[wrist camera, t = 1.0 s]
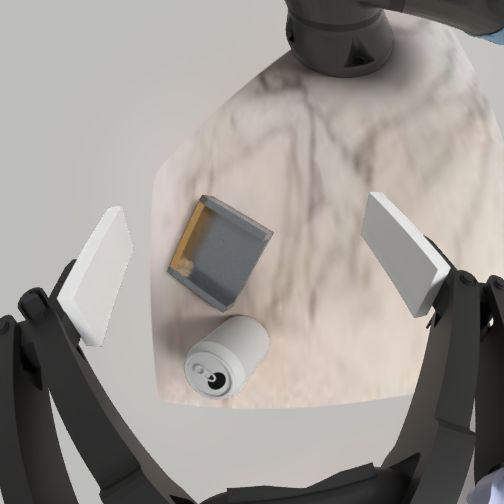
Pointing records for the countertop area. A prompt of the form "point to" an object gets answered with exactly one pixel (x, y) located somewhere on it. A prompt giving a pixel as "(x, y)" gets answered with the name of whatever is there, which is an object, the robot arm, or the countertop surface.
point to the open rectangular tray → (218, 252)
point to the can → (226, 357)
